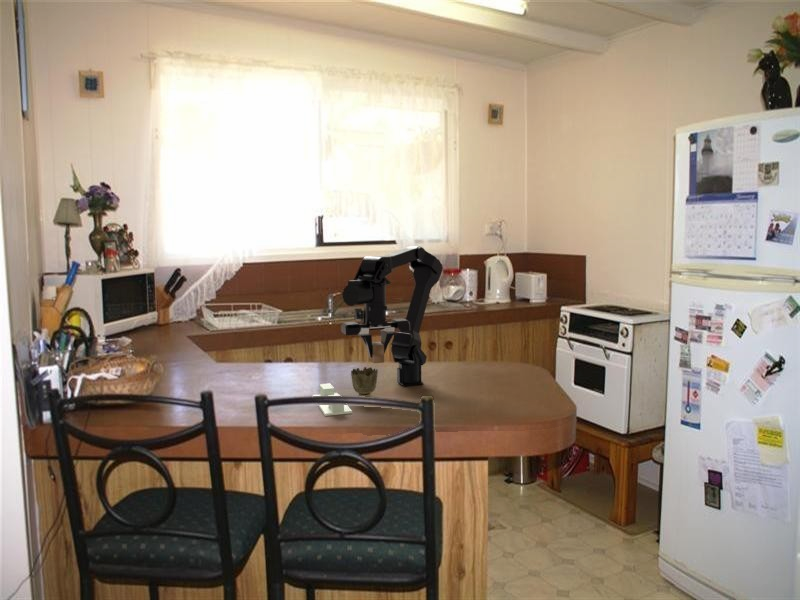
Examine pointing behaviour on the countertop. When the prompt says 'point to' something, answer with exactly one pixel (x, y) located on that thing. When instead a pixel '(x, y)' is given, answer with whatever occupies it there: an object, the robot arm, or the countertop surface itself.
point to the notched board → (327, 411)
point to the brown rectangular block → (377, 352)
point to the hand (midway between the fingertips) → (376, 356)
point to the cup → (364, 381)
